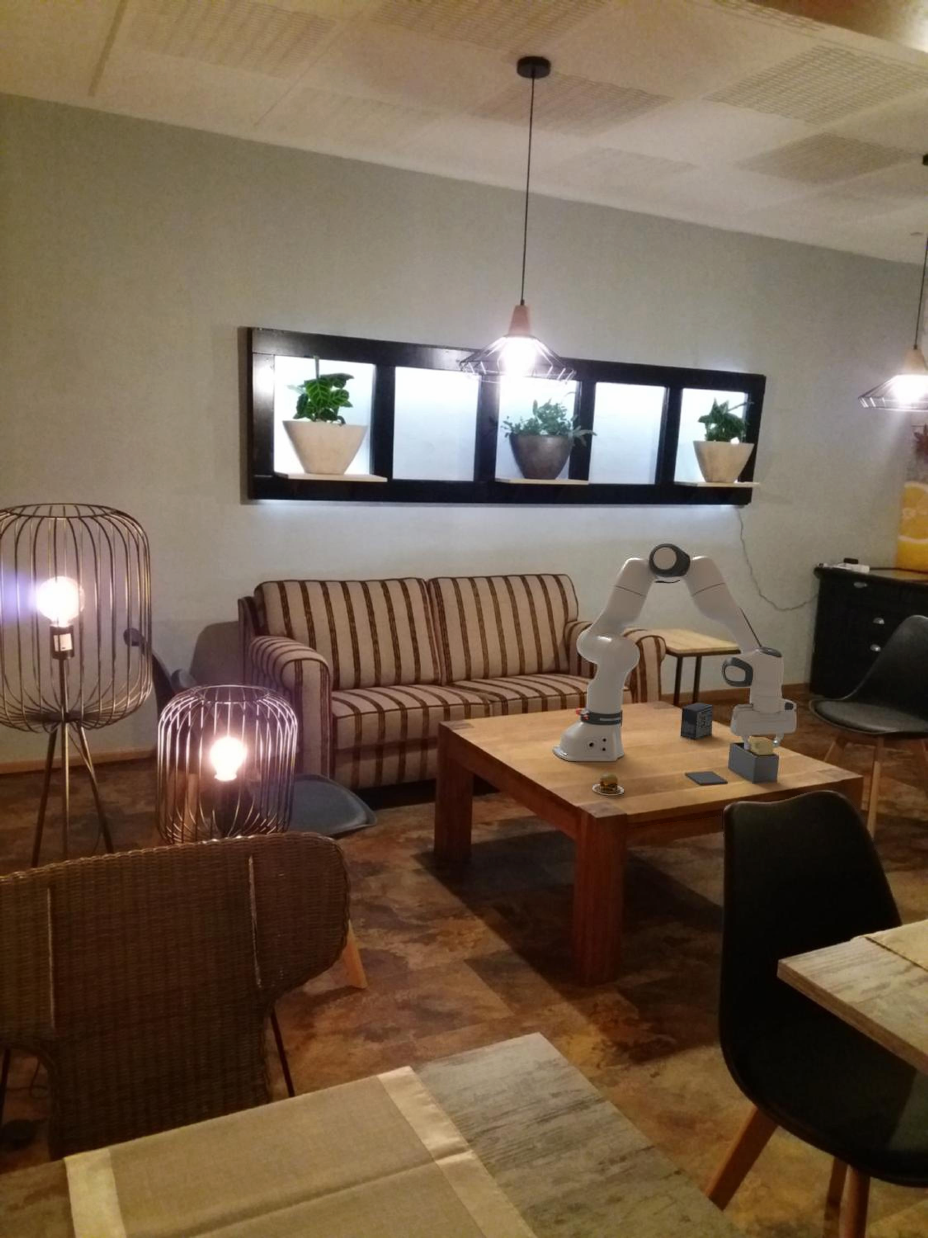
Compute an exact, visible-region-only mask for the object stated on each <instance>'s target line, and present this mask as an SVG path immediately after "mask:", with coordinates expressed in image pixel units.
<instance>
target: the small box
mask: <svg viewBox="0 0 928 1238" xmlns="http://www.w3.org/2000/svg"><path fill="white" fill-rule="evenodd" d="M681 707H682V708H681V721H680V722H681V723H680V737H681V736H682V738H686V739H689V738H690V739H689V740H692V739H693V741H697V739H698V740H700V738H701V739H703V738H706V737H709V736H711V735H713V734H712V733H713V719H714V718H713V717H714V705H712V704H707V703H702V702H696V703H692V704H689V705H686V706H681ZM708 735H709V736H708ZM705 736H706V737H705Z"/></svg>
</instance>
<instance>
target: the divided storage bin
mask: <svg viewBox="0 0 928 1238" xmlns="http://www.w3.org/2000/svg"><path fill="white" fill-rule="evenodd" d="M728 750H729V752H728V765H727V769H729V770H730V771H732V772H734V773H736V774H737V775H739V776H740V777H742V778H743V779H746V780H747V781H748V782H750V781H751V782H752V783H751V782H750V783H751V784H763V782H766V783H774V782H773V781H777V782H778V776H779V775H778V774H779V773H778V772H779V763H780V755H779V754H777V753H775V752H773V756H760V757H757V756H755V755H753V754H751V753H750V752H749V749H748V750H746V749H744V742H743V741H738V742H729V749H728Z"/></svg>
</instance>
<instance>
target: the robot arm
mask: <svg viewBox="0 0 928 1238" xmlns="http://www.w3.org/2000/svg"><path fill="white" fill-rule="evenodd" d="M680 581H682V582H683V583H684V584H685V585H686V587H687V589H688V592H689V595H690V596H691V600H692V602H693V604H694V606H695V608H696V610H697V612H698V614H700V616H702V617H703V618H705V619H707V620H710V621H713V622H715V623H718V624H721V625H723V627H725V628H727V629H728V631H729V632H730V633H731V636H732V637H733V639H734V641H735V643H736V644H737V647H738V648H739V650H740V654H735V655H732V656H730V657H727V658H726V659H725V660H724V661H723V663H722V665H721V676H722V679H723V680H724V682H725V683H726V684H727V685H729V686H731V687H733V688H749V689H750V692H749V693H750V694H749V703H745V704H742V703H739V704H737V705H736V706H734V708H733V709H732V716H731V721H730V728H729V729H730V732H731V734H732V735H735V736H736V737H740V738H741V740H742V742H744V749H746V750H748V749H752V747H751V746H752V744H751V743H749V740H750V736H761V735H763V736H764V735H775V738H774V740H772V741H773V742H774V748H773V749H775V748H776V749H779V748H780V742H781V741H782V740H783V738H784V734H792V733H794V732H795V731H796V729H797V721H798V720H797V712H796V711H795V710H797V703H795V702H794V701H791V700H790V699H787V698H784V697H783V693H782V684H783V682H784V674H785V673H784V672H785V670H784V669H785V668H784V667H785V662H784V657H783V654H782V652H780V651H779V650H777V649H774V648H771V647H766V646H762V644H761V642H760V641H759V638H758V637H757V635H756V633H755V631H754V629H753V627H752V626H751V624H750V621H749V620H748V618H747V616H746V614H745V613H744V611H743V609H742V608H741V607H740V605H738V603H737V602H736V600H735V599H734V597H733V596H732V593H731V591H730V589H729V587H728V584H727V582H726V581H725V578H724V576H723V574H722V572H721V570H720V569H719V567H718V565H717V564H716V562H715V561H714V559H713V558H711V556H709V555H698V556H695V557H694V556H693V557H691V556H690V555H689V554H688V553H687V552H685V551H684V550H683V549H681V547H679V546H677V545H676V544H673V543H670V542H663V543H659V544H657V545H655V546H654V547H653V548H652V549H651V551H650V553H649V555H648V557H647V558H641V557H637V556H636V557H634V556H633V557H630V558H628V559H626V560H625V561H624V563H623V564H622V566H621V568H620V570H619V571H618V573H617V576H616V577H615V580H614V582H613V585H612V587H611V589H610V592H609V595H608V597H607V600H606V602H605V604H604V606H603V608H602V610H601V611H600V614H599V615H598V616H597V618H596V619H595V620H594V622H593V623H592V624H591V625H590V626H589V627H588V628H586V629H584V630H582V631H581V633H580V634H579V635H578V637H577V639H576V648H577V649H576V650H577V652H578V654H580V656H581V657H582V658H584V659H586V661H588V662H590V663H593V664H595V665H597V669H596V670H597V671H596V673H595V676H594V678H592V680H590V681H589V682H588V685H587V686H586V687H587V690H586V691H587V692H586V706H585V707H584V709H581V708H579V707H577V708H576V709H575V711H574V712H575V715H577V716H580V718H579V720H577V721H576V722H575V723H573V724H572V725H570V726H569V727H568V728H567V729H565V730H564V731H563V732H562V733H561V736H560V737H561V738H560V743H559V744H554V745H553V748H552V751H553V753H554V754H555V755H557V757H559V758H560V759H563V760H565V761H569V762H616V761H617V760H618V758H619V759H620V758H621V757H623V756H624V755H625V752H624V748H623V741H622V726H623V716H624V715H623V714H624V712H623V709H622V706H623V696H624V695H623V692H624V687H625V683H626V680H627V677H628V675H629V674H630V673H631V671H632V670H633V669H634V668H636V667H637V665H638V663H639V661H640V657H641V654H640V649H639V647H638V645H637V644H636V643H634V642H633V641H632V640H630V639H629V638H628V637H625V636H624V635H623V634H624V633H625V631H626V630H627V629H628V628H629V627H630V626H632V625H634V624H635V623H637V621H638V620H639V618H640V615H641V613H642V610H643V607H644V605H645V603H646V600H647V596H648V594H649V591H650V589H651V587H652V585H654V583H655V584H675V583H678V582H680Z"/></svg>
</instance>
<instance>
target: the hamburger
mask: <svg viewBox="0 0 928 1238" xmlns="http://www.w3.org/2000/svg"><path fill="white" fill-rule="evenodd" d="M597 788H599V790H600V792H599V791H597V790H596V789H597ZM618 790H619V791H620V792H619V793H616V792H617V791H618ZM592 791H594V792H596V793H598V794H599V795H605V796H617V795H620V794H623V793H624V791H625V789H624V788H623V787H622V786H620V784H619V780H618V777H617V776H616V775H614V774H613V773H603V774H602V775H601V776H600V777H599V782H598V784H597V783H596V784H594V785H593V786H592ZM601 792H602V793H601Z"/></svg>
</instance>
